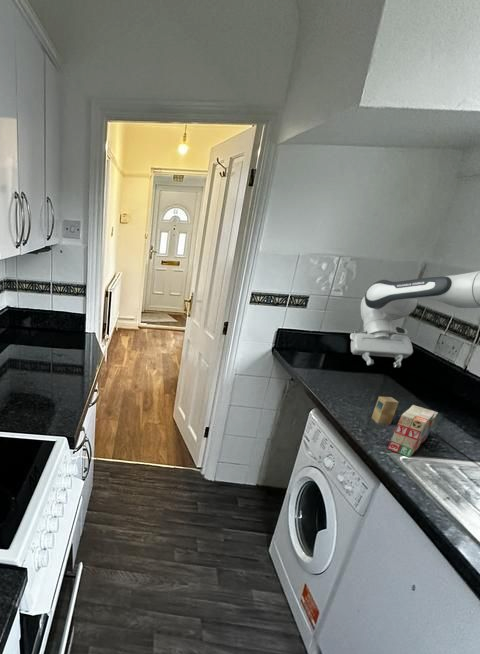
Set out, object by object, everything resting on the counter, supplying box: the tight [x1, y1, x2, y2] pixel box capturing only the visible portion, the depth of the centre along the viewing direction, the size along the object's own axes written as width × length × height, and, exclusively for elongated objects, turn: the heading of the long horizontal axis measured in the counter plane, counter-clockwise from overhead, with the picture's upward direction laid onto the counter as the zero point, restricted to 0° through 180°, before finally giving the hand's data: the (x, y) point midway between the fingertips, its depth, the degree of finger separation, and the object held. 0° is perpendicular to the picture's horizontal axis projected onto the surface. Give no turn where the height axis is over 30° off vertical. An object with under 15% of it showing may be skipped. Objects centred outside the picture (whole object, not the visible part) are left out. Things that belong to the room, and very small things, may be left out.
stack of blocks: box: [386, 404, 439, 458], centre depth 132 cm, size 21×6×12 cm, turn 131°
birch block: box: [370, 395, 400, 426], centre depth 147 cm, size 4×4×9 cm
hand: (384, 365), depth 149 cm, fingers open, 8 cm apart
